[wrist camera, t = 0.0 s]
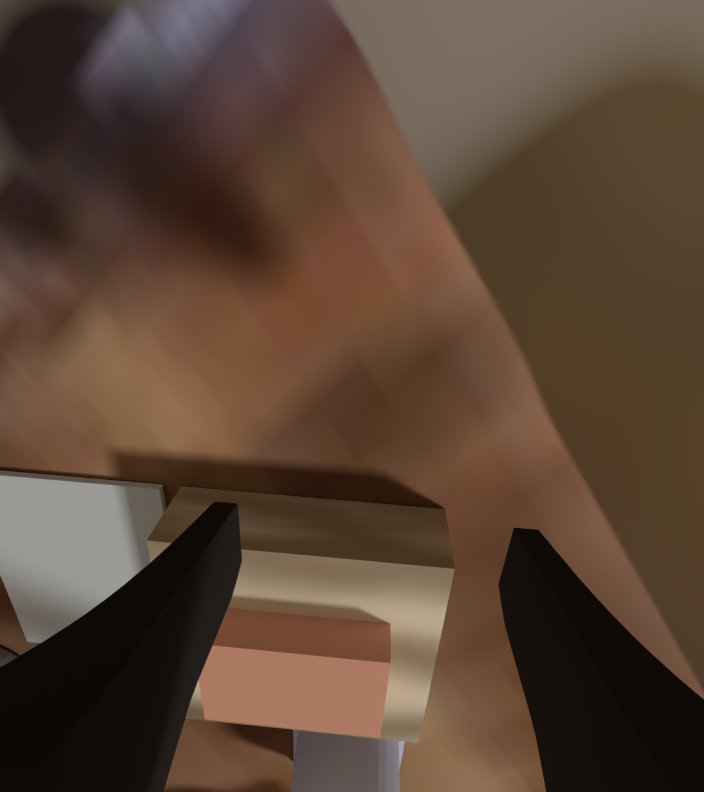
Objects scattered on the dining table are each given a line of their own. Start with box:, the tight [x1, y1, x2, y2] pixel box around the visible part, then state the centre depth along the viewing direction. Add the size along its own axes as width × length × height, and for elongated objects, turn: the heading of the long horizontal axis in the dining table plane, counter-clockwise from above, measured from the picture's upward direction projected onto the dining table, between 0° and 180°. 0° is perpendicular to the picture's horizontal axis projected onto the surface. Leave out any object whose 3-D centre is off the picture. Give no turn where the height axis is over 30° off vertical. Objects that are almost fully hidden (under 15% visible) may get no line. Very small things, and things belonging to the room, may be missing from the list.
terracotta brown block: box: [199, 608, 391, 738], centre depth 23 cm, size 6×9×2 cm, turn 87°
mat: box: [0, 470, 167, 643], centre depth 28 cm, size 14×11×1 cm
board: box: [146, 486, 455, 743], centre depth 26 cm, size 14×14×4 cm
